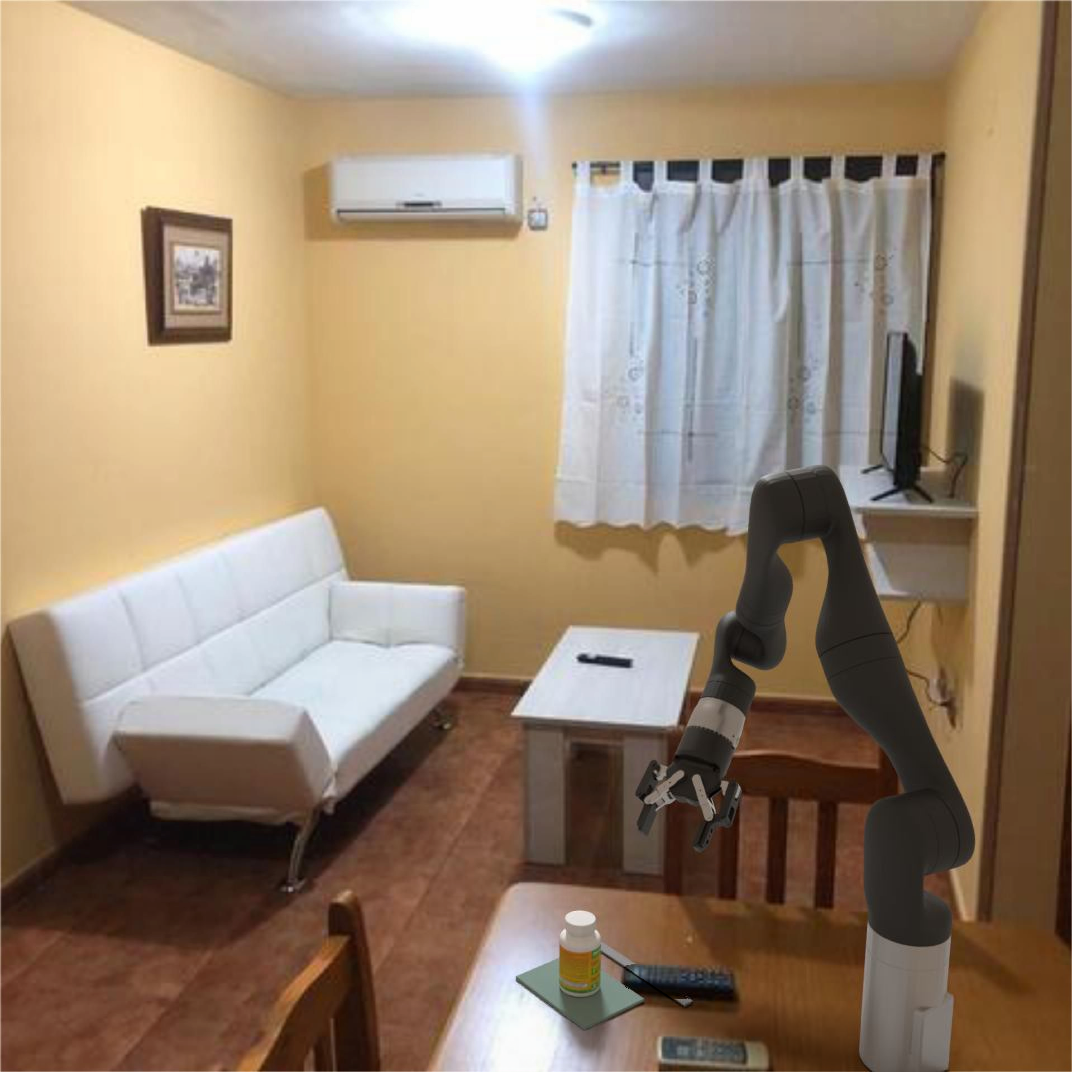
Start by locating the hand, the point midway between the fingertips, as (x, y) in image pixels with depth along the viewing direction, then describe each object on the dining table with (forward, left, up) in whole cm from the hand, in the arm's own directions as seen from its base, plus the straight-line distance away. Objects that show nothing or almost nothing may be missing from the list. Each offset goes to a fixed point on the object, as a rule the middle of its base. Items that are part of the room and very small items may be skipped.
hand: (669, 841), depth 158 cm
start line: (0, +7, -16) cm, 17 cm away
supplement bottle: (0, +16, -16) cm, 22 cm away
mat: (0, +16, -16) cm, 23 cm away
